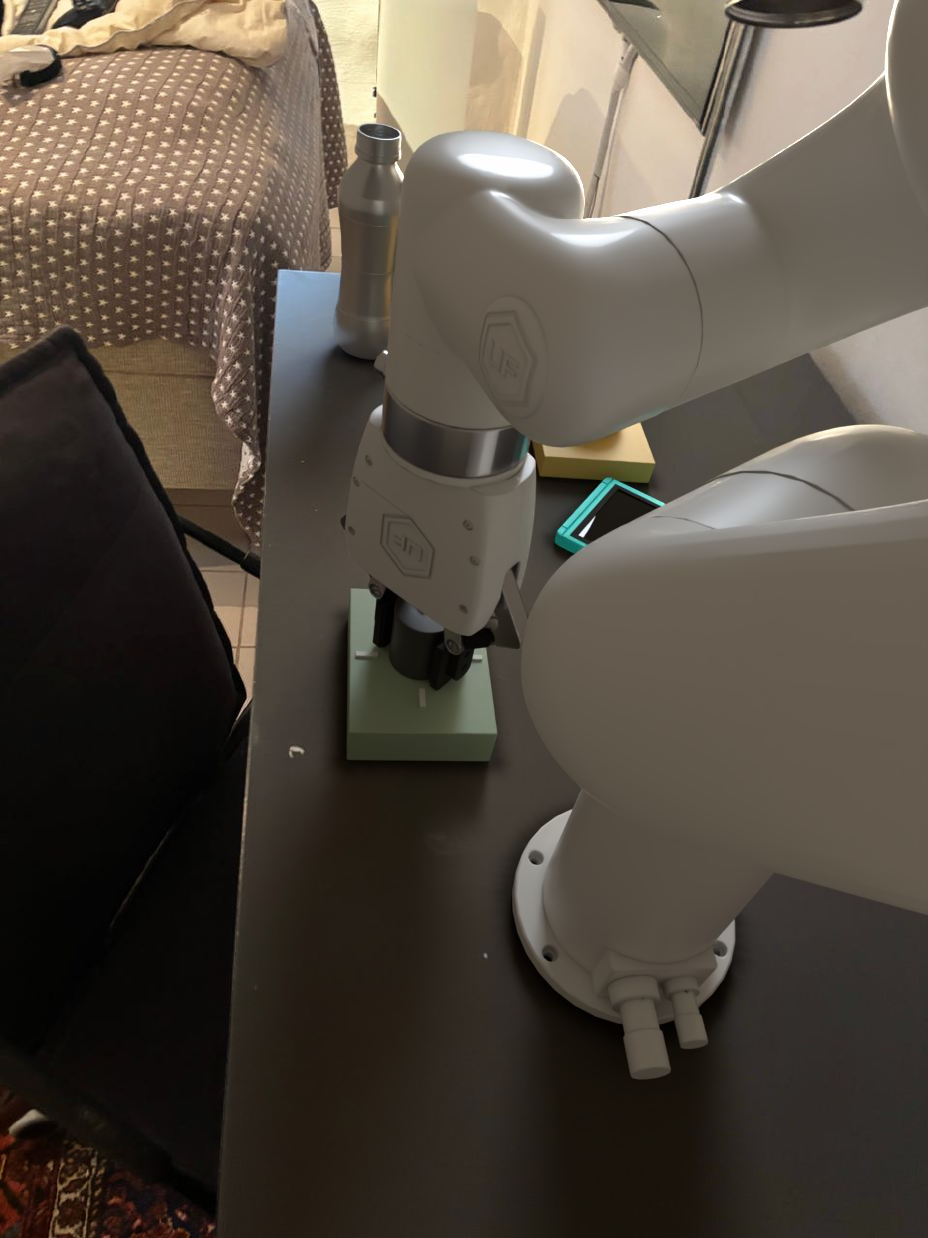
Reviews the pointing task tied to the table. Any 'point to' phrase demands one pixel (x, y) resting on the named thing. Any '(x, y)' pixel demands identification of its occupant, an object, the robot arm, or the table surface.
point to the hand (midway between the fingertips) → (420, 653)
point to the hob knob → (413, 641)
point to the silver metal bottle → (368, 241)
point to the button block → (600, 458)
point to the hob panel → (411, 703)
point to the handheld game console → (603, 514)
